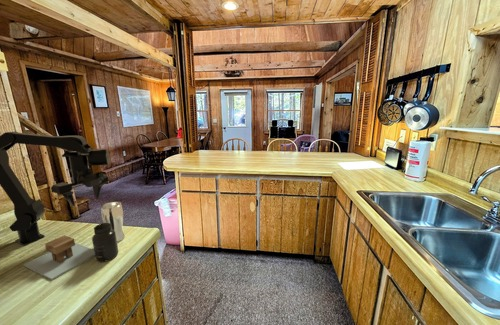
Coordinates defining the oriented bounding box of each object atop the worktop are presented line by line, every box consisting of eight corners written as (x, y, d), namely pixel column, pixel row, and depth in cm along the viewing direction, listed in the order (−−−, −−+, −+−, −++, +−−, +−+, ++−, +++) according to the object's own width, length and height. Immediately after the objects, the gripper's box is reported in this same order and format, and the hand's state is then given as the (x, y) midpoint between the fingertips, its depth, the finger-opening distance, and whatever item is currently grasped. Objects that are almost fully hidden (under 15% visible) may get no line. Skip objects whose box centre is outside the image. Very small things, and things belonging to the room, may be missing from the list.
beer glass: (116, 245, 80) (111, 209, 77) (101, 242, 82) (95, 207, 78) (129, 235, 87) (125, 202, 84) (115, 233, 88) (111, 200, 85)
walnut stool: (48, 260, 70) (44, 243, 69) (67, 251, 75) (64, 235, 74) (58, 265, 68) (54, 247, 67) (77, 255, 73) (74, 238, 72)
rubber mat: (23, 266, 69) (23, 264, 68) (72, 242, 81) (72, 241, 81) (52, 280, 63) (51, 278, 63) (99, 253, 76) (99, 251, 75)
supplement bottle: (105, 249, 78) (100, 220, 75) (122, 250, 77) (118, 221, 75) (90, 262, 71) (85, 230, 68) (109, 263, 71) (105, 231, 68)
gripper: (64, 174, 73) (72, 214, 77) (115, 164, 90) (119, 197, 94) (46, 171, 77) (54, 209, 81) (98, 161, 94) (103, 193, 98)
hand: (85, 202), depth 88 cm, fingers open, 9 cm apart
